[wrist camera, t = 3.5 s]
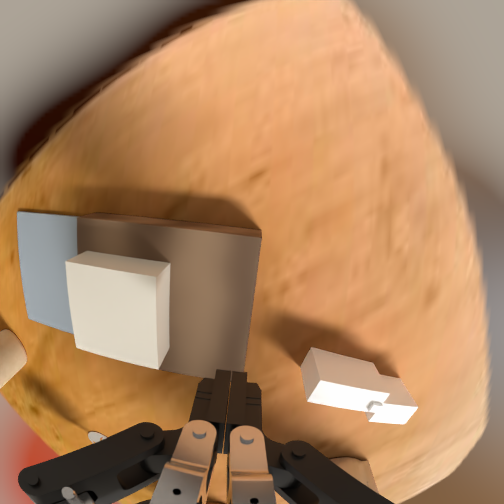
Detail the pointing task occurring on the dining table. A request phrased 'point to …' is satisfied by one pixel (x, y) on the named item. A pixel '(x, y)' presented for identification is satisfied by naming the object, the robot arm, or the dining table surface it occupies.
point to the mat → (46, 265)
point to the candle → (10, 356)
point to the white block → (120, 306)
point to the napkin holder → (355, 387)
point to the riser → (190, 283)
